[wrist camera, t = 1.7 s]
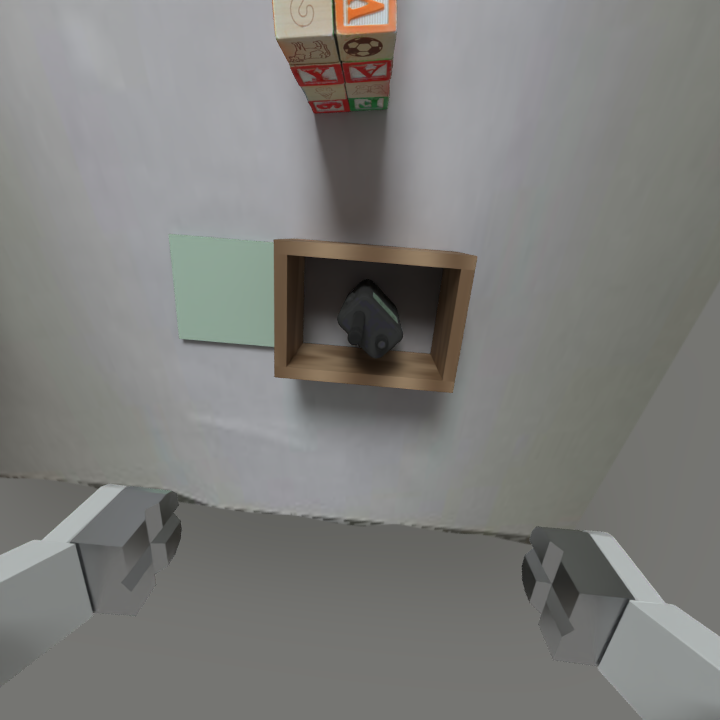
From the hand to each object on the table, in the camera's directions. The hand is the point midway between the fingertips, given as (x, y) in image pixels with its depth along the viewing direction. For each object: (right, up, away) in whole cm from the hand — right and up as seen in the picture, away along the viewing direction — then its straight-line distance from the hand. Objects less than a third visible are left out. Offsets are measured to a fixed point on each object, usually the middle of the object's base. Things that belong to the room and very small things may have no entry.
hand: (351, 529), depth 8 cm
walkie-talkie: (+1, +9, +26) cm, 28 cm away
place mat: (-13, +10, +26) cm, 31 cm away
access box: (+1, +9, +26) cm, 28 cm away
